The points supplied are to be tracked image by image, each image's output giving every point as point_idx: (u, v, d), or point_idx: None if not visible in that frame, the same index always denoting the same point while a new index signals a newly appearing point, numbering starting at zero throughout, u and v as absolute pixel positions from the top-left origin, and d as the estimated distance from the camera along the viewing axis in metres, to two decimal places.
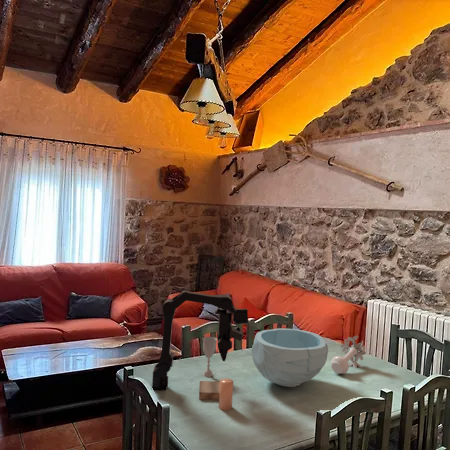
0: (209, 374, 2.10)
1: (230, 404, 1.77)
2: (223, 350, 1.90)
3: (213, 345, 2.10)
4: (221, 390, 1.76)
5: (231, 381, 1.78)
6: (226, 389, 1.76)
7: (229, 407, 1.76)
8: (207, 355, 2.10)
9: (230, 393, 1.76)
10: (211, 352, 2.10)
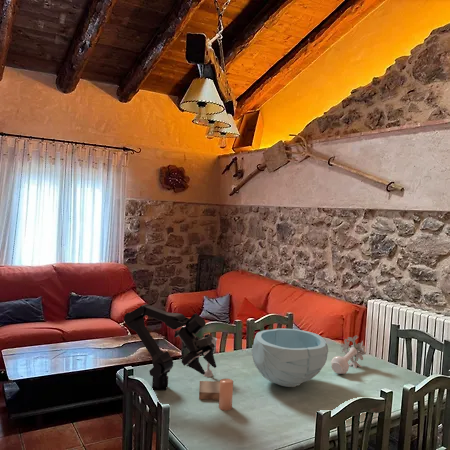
0: (209, 374, 2.10)
1: (230, 404, 1.77)
2: (195, 364, 1.79)
3: None
4: (221, 390, 1.76)
5: (231, 381, 1.78)
6: (226, 389, 1.76)
7: (229, 407, 1.76)
8: None
9: (230, 393, 1.76)
10: None
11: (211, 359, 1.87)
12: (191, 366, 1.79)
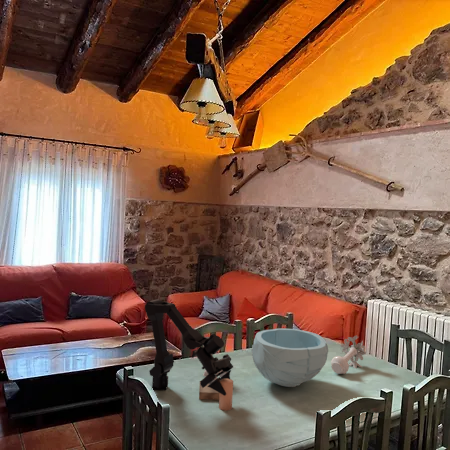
0: None
1: (230, 404, 1.77)
2: (216, 385, 1.76)
3: None
4: None
5: (231, 381, 1.78)
6: (226, 389, 1.76)
7: (229, 407, 1.76)
8: None
9: (230, 393, 1.76)
10: None
11: None
12: (212, 387, 1.76)
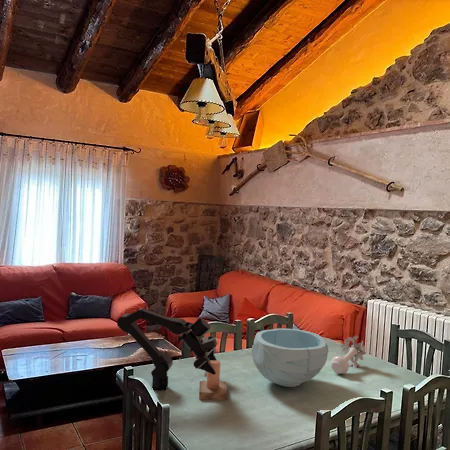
0: None
1: (218, 383, 1.90)
2: (206, 366, 1.86)
3: None
4: None
5: (218, 362, 1.91)
6: (216, 369, 1.88)
7: (218, 386, 1.90)
8: None
9: (218, 373, 1.89)
10: None
11: (214, 359, 1.95)
12: (202, 368, 1.85)
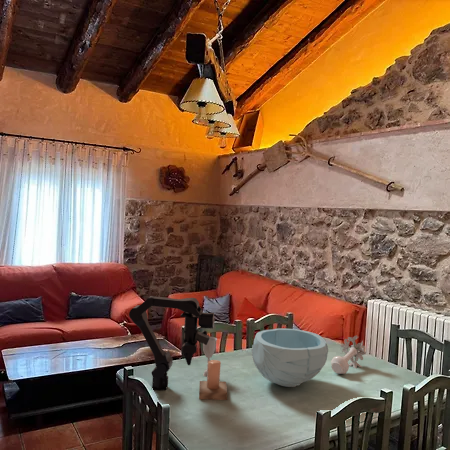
0: None
1: (218, 383, 1.90)
2: (188, 354, 1.87)
3: (213, 345, 2.10)
4: (211, 371, 1.89)
5: (218, 361, 1.91)
6: (216, 369, 1.88)
7: (218, 386, 1.90)
8: (207, 355, 2.10)
9: (219, 372, 1.90)
10: (211, 352, 2.10)
11: None
12: (184, 354, 1.87)
